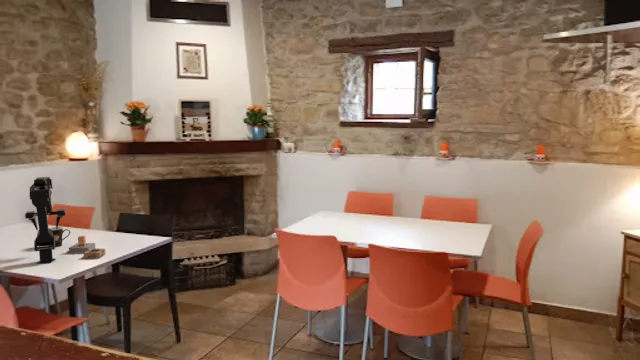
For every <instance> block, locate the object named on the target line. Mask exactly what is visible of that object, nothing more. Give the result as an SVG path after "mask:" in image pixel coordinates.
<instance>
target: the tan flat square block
mask: <svg viewBox="0 0 640 360" xmlns="http://www.w3.org/2000/svg"><path fill="white" fill-rule="evenodd" d="M105 255H106V248H95V249H89V250H87V251H86V252H84V253H83V259H85V260H86V259H101V258H103V257H104V256H105Z"/></svg>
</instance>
